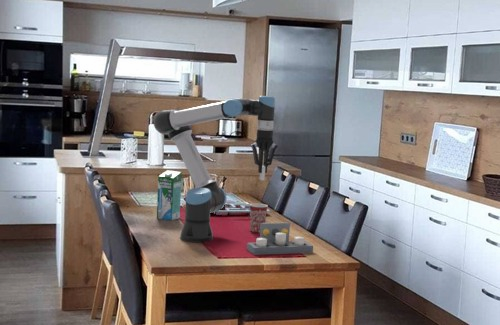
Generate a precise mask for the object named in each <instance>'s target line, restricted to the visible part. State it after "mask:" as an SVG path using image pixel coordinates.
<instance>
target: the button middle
mask: <svg viewBox="0 0 500 325" xmlns="http://www.w3.org/2000/svg"><path fill="white" fill-rule="evenodd" d="M285 244H286V233H280V232H279V233H276V238H275V245H277V246H285Z"/></svg>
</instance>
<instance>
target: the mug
mask: <svg viewBox="0 0 500 325" xmlns="http://www.w3.org/2000/svg"><path fill="white" fill-rule="evenodd" d="M249 204H250V215H249V231H250V232H251V231H252V232H251V233H254V232H260V226H261V223H267V221H266V220H267V213H268V212H267V209H268V207H269V206H268V204H265V203H249Z"/></svg>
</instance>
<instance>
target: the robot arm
mask: <svg viewBox="0 0 500 325" xmlns="http://www.w3.org/2000/svg"><path fill="white" fill-rule="evenodd" d="M275 100H276V98H275V97H274V96H270V95H268V96H267V95H259V96H258V99H253V98H252V99H251V98H243V97H242V98H229V99H227V100H225V101H220V102H215V103H210V104H205V105H200V106H196V107H191V108H187V109H186V108H184V109H169V110H160V111H159V112H157V114H155V116H154V118H153V127H154V129H155V130H156V131H157V132H158V133H159V134H162V135H167V136H168V139H169V140H170V142H173V143H174V144H175V146H176V148H177V150H178V153H179V154H180V156H181V159H182V161H183V163H184V165H185V167H186V169H187V172H188V173H189V176H190V178H191V180H192V182H193V185H194V188H193V187H192V188H190V189H188V190H187V191H186V194H185V214H184V223H183V226H182V229H181V232H180V240H182V241H184V242H189V243H208V242H211V241H213V237H214V234H213V230H212V226H211V223H210V222H211V214H210V213H213V212H217V211H219V210H220V209H222V208H223V207H224V205H225V204H227V194H226V191H225V190H224V189H223V187H222V188H221V187H220V186H219V185H218V183H217V181H216V180H214V179H212V177H211V176H210V173H209V171H208V169H207V167H206V165H205V163H204V160H203V159H202V156H201V154H200V151H199V149H198V148H197V146H196V144H195V142H194V139H193V137H192V133H193V130H192V125H196V124H202V123H207V122H212V121H216V120H222V119H226V118H227V119H228V118H232V117H233V118H234V117H236V116H237V117H239V116H240V117H241V116H255V117H257V125H256V129H257V130H256V139H255V142H254V143H251V144H250V148H251V149H252V154H253V160H254V164H255V165H257V166H258V170H257V171H258V173H259V180H260V181H265V180H266V179H265V178H266V174H267V173H268V167H269V166H270V165H272V163H273V159H274V157H275V153H276V150H277V148H278V145H277V144H276V143H274V140H273V138H274V131H273V130H274V122H275V119H274V118H275V111H276V110H275V109H276V108H275V107H276V104H275V103H276V101H275ZM257 148H258V149H257ZM270 148H271V149H270Z"/></svg>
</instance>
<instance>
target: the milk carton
mask: <svg viewBox="0 0 500 325" xmlns="http://www.w3.org/2000/svg"><path fill="white" fill-rule="evenodd" d="M182 173H183V172H182V171H176V170H170V169H169V170H168V169H166V170H165V171H164V172H162V173H160V175H158V178H157V197H156V198H157V201H156V205H157V206H156V219H157V220H163V221H164V220H165V221H168V222H169V221H170V222H173V221H175V220H177V219H180V217H181V215H180V214H181V197H182V196H181V194H182V192H181V191H182V176H183V175H182Z"/></svg>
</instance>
